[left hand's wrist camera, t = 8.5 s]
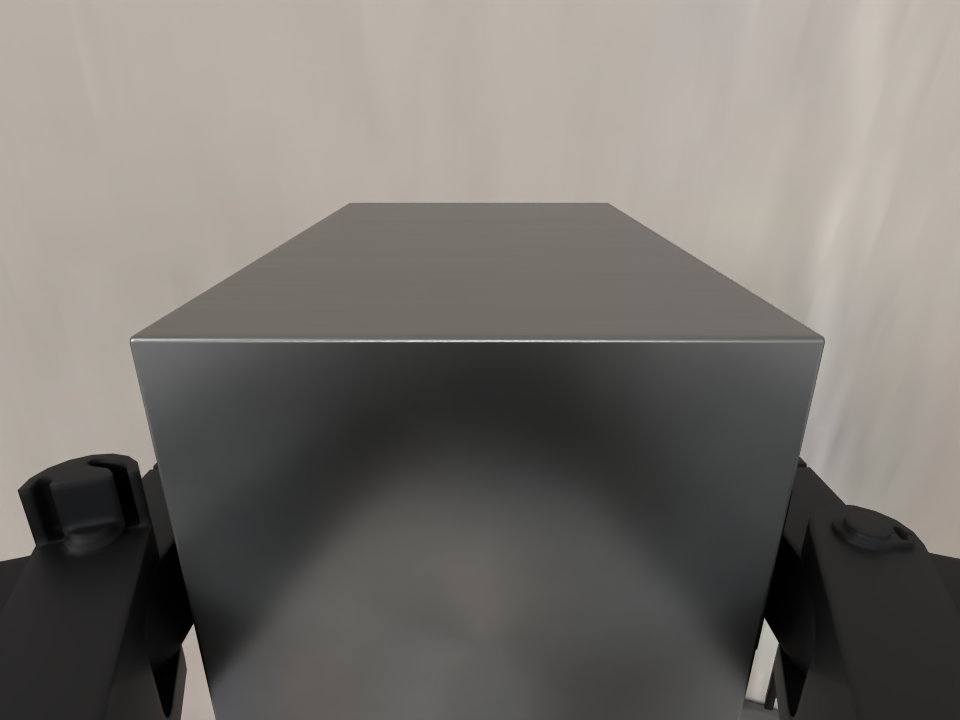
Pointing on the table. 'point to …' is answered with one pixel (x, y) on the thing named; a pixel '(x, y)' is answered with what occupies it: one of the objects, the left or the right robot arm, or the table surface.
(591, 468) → the brick
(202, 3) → the table surface
